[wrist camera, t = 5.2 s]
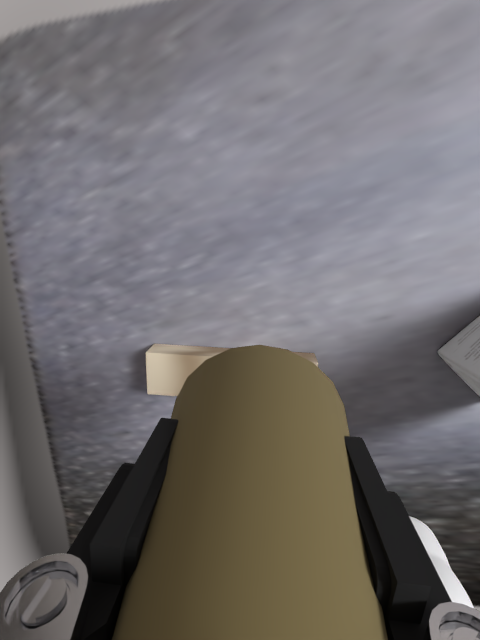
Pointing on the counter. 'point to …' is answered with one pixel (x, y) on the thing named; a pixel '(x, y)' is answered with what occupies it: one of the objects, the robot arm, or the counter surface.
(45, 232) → the counter surface
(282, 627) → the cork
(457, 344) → the skincare box
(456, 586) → the water bottle
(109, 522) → the robot arm
